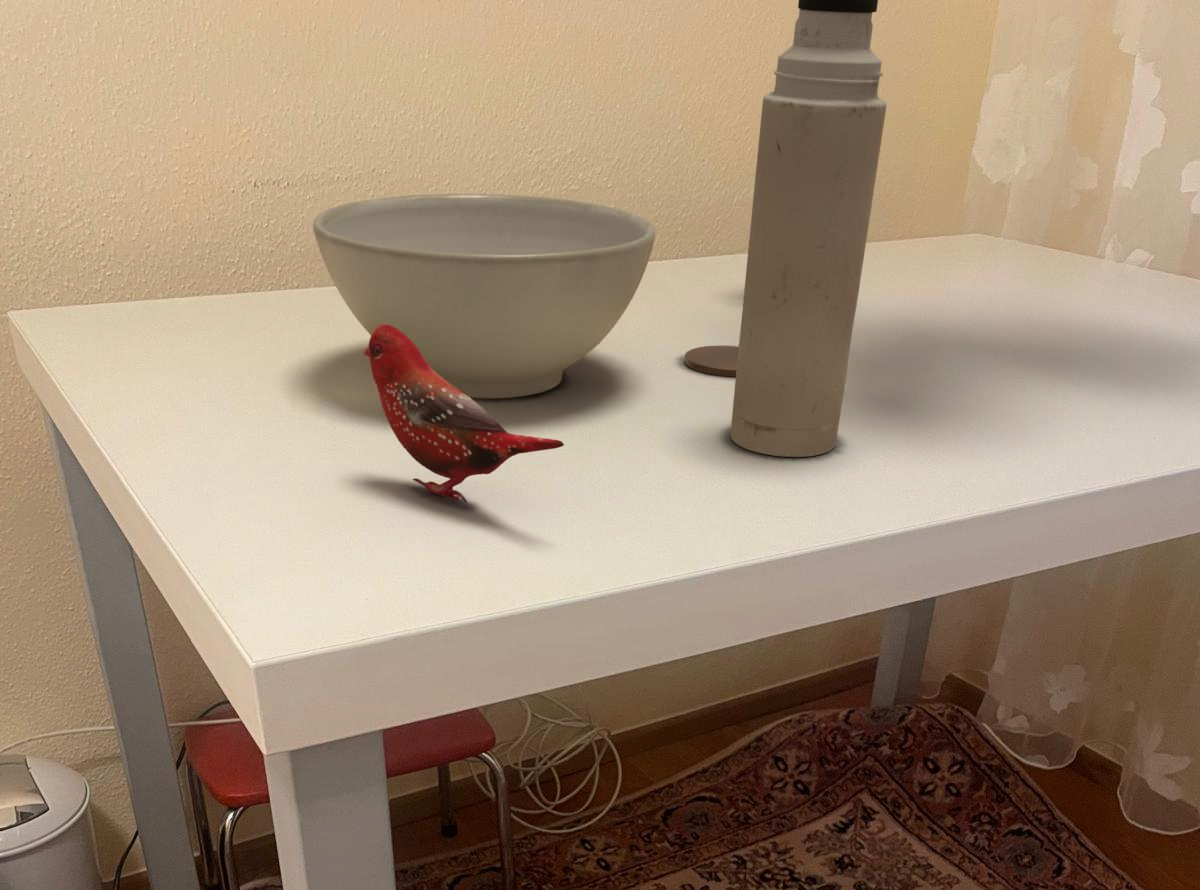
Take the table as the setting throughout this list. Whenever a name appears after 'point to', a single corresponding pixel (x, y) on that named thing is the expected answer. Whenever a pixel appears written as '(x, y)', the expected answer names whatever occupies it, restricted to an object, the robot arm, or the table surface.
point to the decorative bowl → (488, 280)
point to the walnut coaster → (713, 360)
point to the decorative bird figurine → (439, 416)
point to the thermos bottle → (808, 232)
